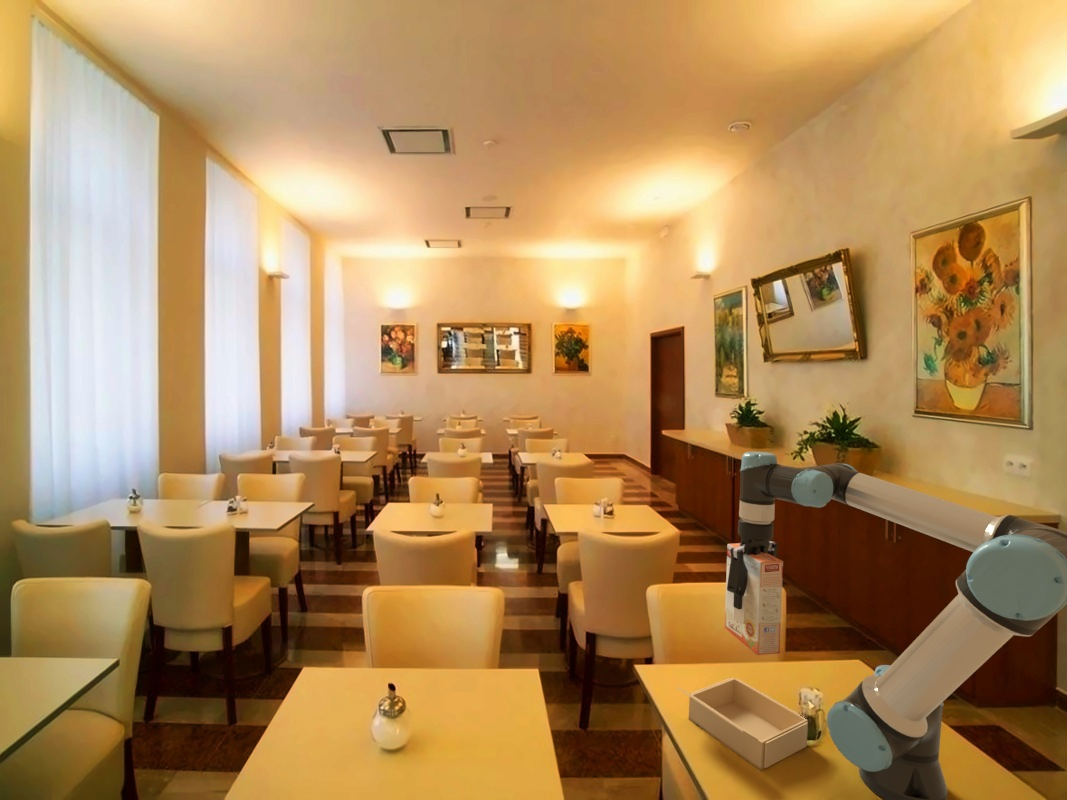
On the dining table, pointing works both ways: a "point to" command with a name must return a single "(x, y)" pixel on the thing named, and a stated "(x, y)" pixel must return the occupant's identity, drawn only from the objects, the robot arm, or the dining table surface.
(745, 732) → the flap
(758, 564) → the cracker box
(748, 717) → the carton
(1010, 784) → the dining table surface
